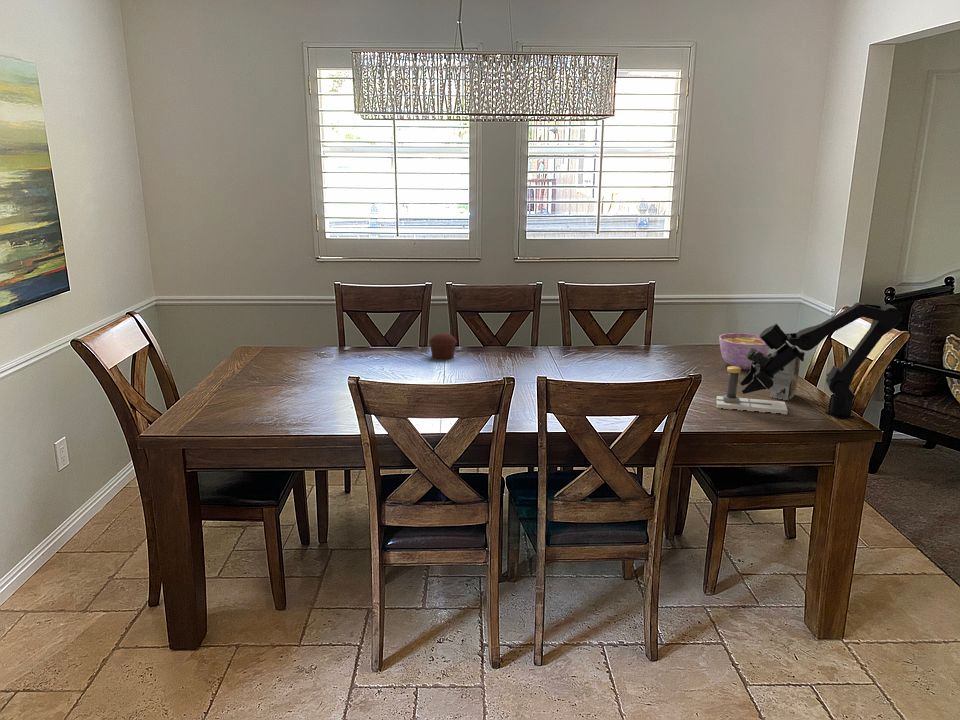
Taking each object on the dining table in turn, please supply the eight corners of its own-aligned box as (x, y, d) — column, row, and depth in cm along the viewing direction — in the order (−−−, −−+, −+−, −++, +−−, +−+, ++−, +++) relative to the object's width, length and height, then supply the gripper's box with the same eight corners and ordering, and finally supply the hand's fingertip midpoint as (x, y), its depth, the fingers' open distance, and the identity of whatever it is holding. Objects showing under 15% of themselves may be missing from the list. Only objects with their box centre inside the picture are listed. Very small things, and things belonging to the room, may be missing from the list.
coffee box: (777, 391, 264) (783, 348, 260) (796, 394, 260) (802, 351, 256) (769, 397, 258) (774, 353, 253) (788, 401, 254) (793, 356, 249)
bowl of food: (708, 360, 304) (711, 333, 301) (755, 359, 306) (758, 332, 303) (728, 373, 285) (730, 345, 282) (777, 373, 287) (781, 344, 284)
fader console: (784, 405, 249) (784, 401, 248) (787, 414, 240) (787, 409, 240) (714, 399, 254) (715, 395, 254) (715, 408, 246) (715, 403, 246)
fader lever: (738, 398, 250) (741, 366, 247) (739, 402, 246) (742, 370, 243) (723, 397, 251) (726, 365, 248) (723, 401, 247) (726, 369, 244)
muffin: (424, 358, 304) (424, 335, 301) (435, 352, 314) (435, 329, 311) (451, 361, 300) (450, 337, 297) (461, 355, 310) (461, 332, 307)
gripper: (761, 335, 249) (724, 364, 255) (766, 348, 232) (726, 378, 238) (783, 358, 249) (746, 387, 255) (790, 373, 232) (750, 403, 238)
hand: (741, 388), depth 246 cm, fingers open, 9 cm apart
